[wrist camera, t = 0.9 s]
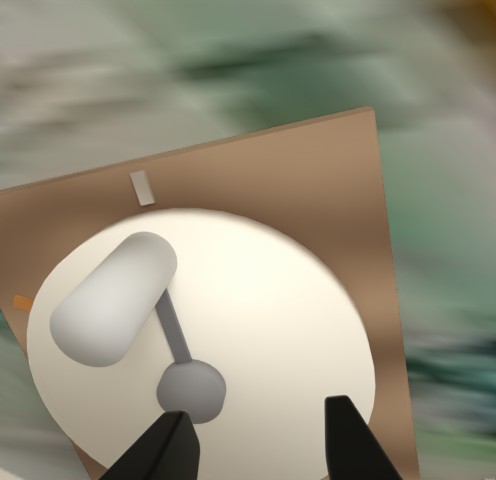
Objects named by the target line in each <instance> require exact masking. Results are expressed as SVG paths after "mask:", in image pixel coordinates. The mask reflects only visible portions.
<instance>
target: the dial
mask: <svg viewBox="0 0 496 480" xmlns="http://www.w3.org/2000/svg"><path fill="white" fill-rule="evenodd" d="M27 354H28V360H29V366H30V370H31V373H32V377H33V380H34V383H35V386H36V388H37V390H38V392H39V394H40V396H41V399H42V401H43V403H44V404H45V406H46V407H47V409H48V411H49V412H50V414H51V415H52V417H53V418H54V420H55V421H56V422H57V423H58V425H59V426H60V427H61V428H62V430H63V431H64V432H65V433H66V434H67V435H68V436H69V437H70V438H71V439H72V440H73V441H74V442H75V444H76V445H78V446H79V447H80V448H81V449H82V450H83V451H85V452H86V453H87V454H88V455H89V456H90V457H92V458H93V459H94V460H96V461H97V462H99V463H100V464H102V465H103V466H104V467H106V468H107V469H109V468H110V467H111V466H112V465H113V464H114V463H115V462H116V461H117V460H118V459H119V458H120V457H121V456H122V455H123V454H124V452H125V451H126V450H127V449H128V448H129V447H130V446H131V445H132V444H133V443H134V442H135V441H136V440H137V439H138V438H139V437H140V436H141V435H142V434H143V433H144V432H145V431H146V430H147V429H148V428H149V427H150V426H151V425H152V424H153V423H154V422H155V421H156V420H157V419H158V418H159V417H160V416H161V415H162V414H163V413H164V412H166V411H171V410H186V411H187V412H188V414H189V415H190V418H191V421H192V423H193V426H194V429H195V431H196V434H197V437H198V439H199V443H200V460H199V469H198V477H197V480H321V479H322V478H324V477H325V476H327V475H328V470H327V464H326V456H325V418H324V400H325V398H326V397H327V396H337V395H347V396H348V397H349V398H350V399H351V400H352V402H353V403H354V405H355V407H356V408H357V410H358V411H359V413H360V414H361V416H362V417H363V419H364V420H365V422H366V424H367V425H368V423H369V420H370V416H371V413H372V409H373V406H374V396H375V373H374V365H373V360H372V356H371V351H370V347H369V342H368V338H367V334H366V330H365V326H364V323H363V320H362V318H361V316H360V313H359V311H358V308H357V306H356V304H355V302H354V301H353V299H352V298H351V296H350V294H349V293H348V291H347V289H346V288H345V286H344V285H343V284H342V283H341V281H340V280H339V279H338V278H337V276H336V275H335V274H334V273H333V272H332V270H331V269H330V268H329V267H328V266H327V265H326V264H324V263H323V262H322V261H321V260H320V259H319V258H318V257H317V256H316V255H315V254H314V253H312V252H311V251H310V250H308V249H307V248H305V247H304V246H303V245H301V244H300V243H298V242H297V241H296V240H294V239H293V238H291V237H289V236H287V235H285V234H284V233H282V232H280V231H278V230H276V229H274V228H272V227H270V226H268V225H265V224H263V223H260V222H258V221H255V220H252V219H250V218H247V217H243V216H240V215H236V214H232V213H228V212H224V211H217V210H209V209H202V208H169V209H162V210H154V211H148V212H144V213H141V214H137V215H133V216H130V217H127V218H124V219H122V220H120V221H118V222H115V223H113V224H111V225H108V226H107V227H105V228H104V229H102V230H100V231H99V232H97V233H96V234H94V235H92V236H91V237H90V238H88V239H87V240H86V241H85V242H84V243H82V244H81V245H80V246H79V247H77V248H76V249H75V250H74V251H73V252H71V253H70V254H69V255H68V256H67V257H66V258H65V259H64V260H62V261H61V262H60V263H59V264H58V265H57V266H56V267H55V268H54V270H53V271H52V272H51V273H50V274H49V276H48V277H47V278H46V279H45V281H44V282H43V284H42V286H41V288H40V290H39V292H38V293H37V295H36V297H35V300H34V303H33V306H32V309H31V312H30V315H29V321H28V327H27Z"/></svg>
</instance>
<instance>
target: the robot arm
mask: <svg viewBox="0 0 496 480" xmlns="http://www.w3.org/2000/svg"><path fill="white" fill-rule="evenodd" d="M324 418H325V456H326V464H327V470H328V475H329V480H403V479H402V477H401V476H400V474H399V473H398V471H397V470H396V468H395V467H394V465H393V464H392V462H391V460H390V459H389V457H388V456H387V454H386V453H385V451H384V450H383V448H382V447H381V445H380V444H379V442H378V440H377V439H376V437H375V436H374V434H373V433H372V431H371V430H370V428H369V427H368V425H367V424H366V422H365V420H364V419H363V417H362V416H361V414H360V413H359V411H358V410H357V408H356V407H355V405H354V403H353V402H352V400H351V399H350V398H349V397H348V396H347V395H337V396H327V397H326V398H325V400H324ZM199 460H200V443H199V439H198V437H197V434H196V431H195V429H194V426H193V423H192V421H191V418H190V415H189V414H188V412H187V411H186V410H171V411H166V412H164V413H163V414H162V415H161V416H160V417H159V418H158V419H157V420H156V421H155V422H154V423H153V424H152V425H151V426H150V427H149V428H148V429H147V430H146V431H145V432H144V433H143V434H142V435H141V436H140V437H139V438H138V439H137V440H136V441H135V442H134V443H133V444H132V445H131V446H130V447H129V448H128V449H127V450H126V451H125V452H124V454H123V455H122V456H121V457H120V458H119V459H118V460H117V461H116V462H115V463H114V464H113V465H112V466H111V467H110V468H109V469H108V470H107V471H106V472H105V473H104V474H103V475H102V476H101V477H100V478H99V479H98V480H197V477H198V469H199Z"/></svg>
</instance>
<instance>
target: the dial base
mask: <svg viewBox="0 0 496 480" xmlns="http://www.w3.org/2000/svg"><path fill="white" fill-rule="evenodd" d="M169 208H202V209H209V210H217V211H224V212H228V213H232V214H236V215H240V216H243V217H247V218H250V219H252V220H255V221H258V222H260V223H263V224H265V225H268V226H270V227H272V228H274V229H276V230H278V231H280V232H282V233H284V234H285V235H287V236H289V237H291V238H293V239H294V240H296V241H297V242H298V243H300V244H301V245H303V246H304V247H305V248H307V249H308V250H310V251H311V252H312V253H314V254H315V255H316V256H317V257H318V258H319V259H320V260H321V261H322V262H323V263H324V264H326V265H327V266H328V267H329V268H330V269H331V270H332V272H333V273H334V274H335V275H336V276H337V278H338V279H339V280H340V281H341V283H342V284H343V285H344V286H345V288H346V289H347V291H348V293H349V294H350V296H351V298H352V299H353V301H354V302H355V304H356V306H357V308H358V311H359V313H360V316H361V318H362V320H363V323H364V326H365V330H366V334H367V338H368V342H369V347H370V351H371V356H372V360H373V365H374V373H375V396H374V406H373V409H372V413H371V416H370V420H369V423H368V427H369V428H370V430H371V431H372V433H373V434H374V436H375V437H376V439H377V440H378V442H379V444H380V445H381V447H382V448H383V450H384V451H385V453H386V454H387V456H388V457H389V459H390V460H391V462H392V464H393V465H394V467H395V468H396V470H397V471H398V473H399V474H400V476H401V477H402V479H403V480H420V474H419V466H418V458H417V450H416V442H415V434H414V426H413V418H412V410H411V402H410V394H409V386H408V378H407V370H406V362H405V354H404V346H403V337H402V329H401V321H400V313H399V305H398V297H397V289H396V281H395V273H394V265H393V257H392V249H391V241H390V233H389V225H388V217H387V209H386V201H385V193H384V184H383V176H382V168H381V160H380V152H379V144H378V136H377V128H376V120H375V112H374V109H372V108H371V107H370V106H365V107H360V108H356V109H352V110H347V111H343V112H339V113H334V114H330V115H326V116H321V117H317V118H312V119H308V120H304V121H299V122H295V123H291V124H286V125H282V126H278V127H273V128H269V129H265V130H260V131H256V132H252V133H247V134H243V135H239V136H234V137H230V138H226V139H221V140H217V141H212V142H208V143H204V144H199V145H195V146H191V147H186V148H182V149H178V150H173V151H169V152H165V153H160V154H156V155H152V156H147V157H143V158H139V159H134V160H130V161H126V162H121V163H117V164H112V165H108V166H104V167H99V168H95V169H91V170H86V171H82V172H78V173H73V174H69V175H65V176H60V177H56V178H52V179H47V180H43V181H39V182H34V183H30V184H25V185H21V186H17V187H12V188H8V189H4V190H0V309H1V310H2V312H3V314H4V316H5V318H6V320H7V322H8V324H9V325H10V327H11V329H12V331H13V333H14V335H15V337H16V339H17V341H18V342H19V344H20V346H21V348H22V350H23V352H24V354H25V356H26V357H27V359H28V354H27V327H28V321H29V315H30V312H31V309H32V306H33V303H34V300H35V297H36V295H37V293H38V292H39V290H40V288H41V286H42V284H43V282H44V281H45V279H46V278H47V277H48V276H49V274H50V273H51V272H52V271H53V270H54V268H55V267H56V266H57V265H58V264H59V263H60V262H61V261H62V260H64V259H65V258H66V257H67V256H68V255H69V254H70V253H71V252H73V251H74V250H75V249H76V248H77V247H79V246H80V245H81V244H82V243H84V242H85V241H86V240H87V239H88V238H90V237H91V236H92V235H94V234H96V233H97V232H99V231H100V230H102V229H104V228H105V227H107V226H108V225H111V224H113V223H115V222H118V221H120V220H122V219H124V218H127V217H130V216H133V215H137V214H141V213H144V212H148V211H154V210H162V209H169ZM28 361H29V360H28ZM69 438H70V437H69ZM70 440H71V442H72V444H73V446H74V448H75V450H76V451H77V453H78V455H79V457H80V459H81V461H82V463H83V465H84V466H85V468H86V470H87V472H88V474H89V476H90V478H91V480H98V479H99V478H100V477H101V476H102V475H103V474H104V473H105V472H106V471H107V470H108V469H107V468H106V467H104V466H103V465H102V464H100V463H99V462H97V461H96V460H94V459H93V458H92V457H90V456H89V455H88V454H87V453H86V452H85V451H83V450H82V449H81V448H80V447H79V446H78V445H76V444H75V442H74V441H73V440H72V439H71V438H70ZM321 480H329V475H327V476H325V477H324V478H322V479H321Z"/></svg>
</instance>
